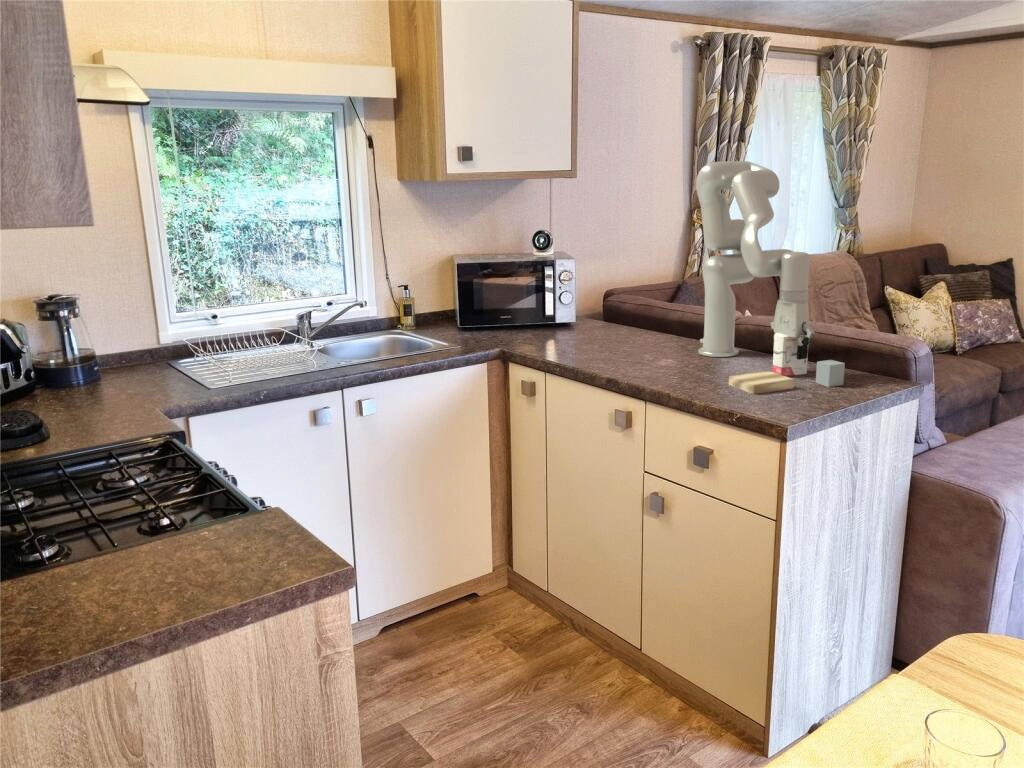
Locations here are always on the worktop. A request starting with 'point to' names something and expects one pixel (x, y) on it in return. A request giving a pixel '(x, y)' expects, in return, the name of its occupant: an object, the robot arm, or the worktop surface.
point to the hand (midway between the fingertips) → (790, 355)
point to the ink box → (787, 356)
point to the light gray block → (830, 373)
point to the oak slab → (761, 382)
